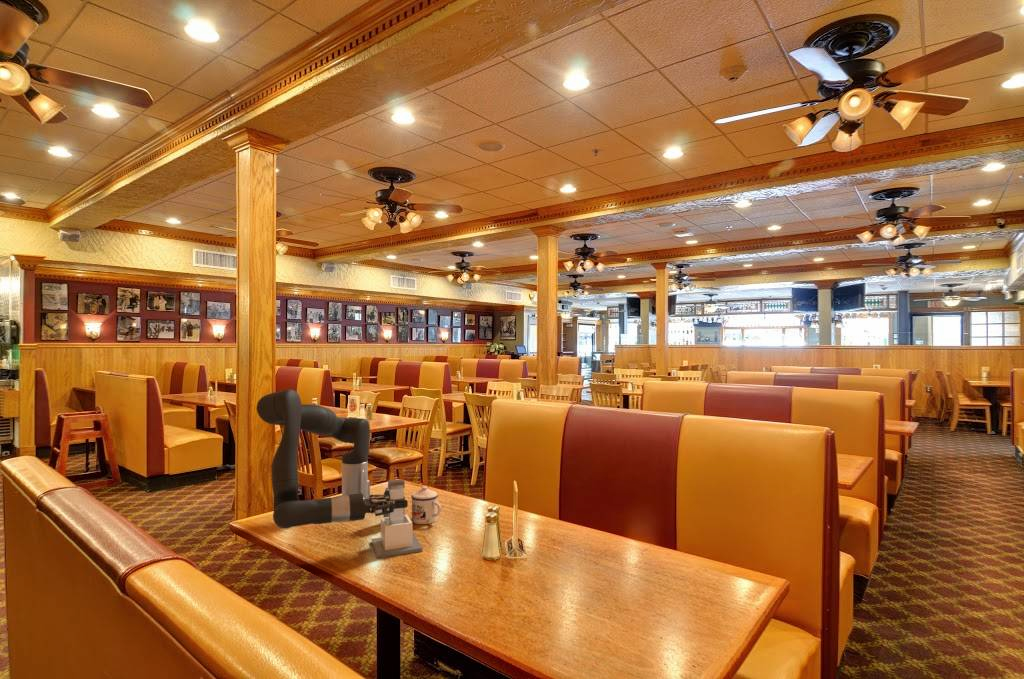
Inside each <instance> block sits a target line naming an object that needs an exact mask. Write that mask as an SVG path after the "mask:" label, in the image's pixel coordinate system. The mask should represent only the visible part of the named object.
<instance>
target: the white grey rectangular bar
mask: <svg viewBox="0 0 1024 679" xmlns="http://www.w3.org/2000/svg"><path fill="white" fill-rule="evenodd" d="M387 487H388V488H389V501H399V500H404V497H405V489H404V488H405V487H406V486H405V479H403V478H399V479H398V478H396V479H390V480H387ZM389 508H390V506H389ZM404 515H405V508H399V509H395V510H394V512H392V513H389V525H393V524H401V523H404Z"/></svg>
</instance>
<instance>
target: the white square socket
mask: <svg viewBox="0 0 1024 679" xmlns="http://www.w3.org/2000/svg"><path fill="white" fill-rule="evenodd" d="M413 524H414V522H413V521H412V519H411V518H410V517H409V515H408V514H404V523H401V524H393V525H389V517H384V516H383V517H380V537H375V538H371V544H372V547H373V548H374V551H375V554H376V556H377V559H381V558H386V557H387V558H388V557H394V556H401V555H407V554H414V553H420V552H423V547H422V545H421V543H420V542H419V540H418V538H417V537H416V535H415V534H414V531H413V526H414V525H413Z"/></svg>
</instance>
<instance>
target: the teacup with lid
mask: <svg viewBox="0 0 1024 679" xmlns="http://www.w3.org/2000/svg"><path fill="white" fill-rule="evenodd" d="M438 496H439V495H438V493H437V491H434V490H431V489H429V488H428V486H427V485H424V486H421V489H419V490H418V491H415V492H413V493H412V494H411V497H410V498H411V521H412V523H413V524H417V525H430V524H433V523H435V522H437V520H438V516H440V515H441V512H442V505H441V503H440V502H438Z"/></svg>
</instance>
